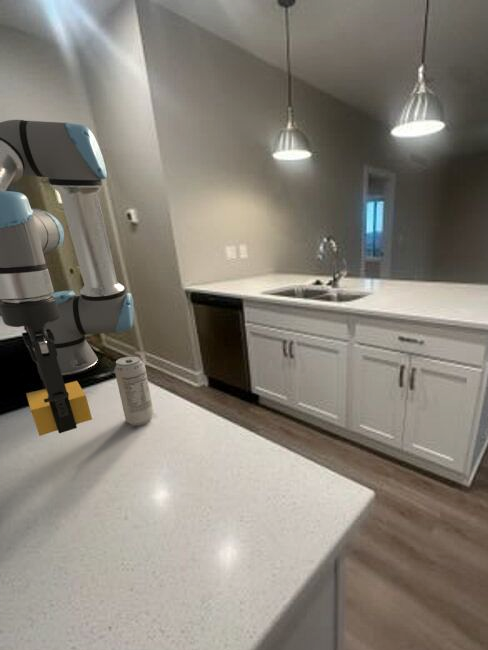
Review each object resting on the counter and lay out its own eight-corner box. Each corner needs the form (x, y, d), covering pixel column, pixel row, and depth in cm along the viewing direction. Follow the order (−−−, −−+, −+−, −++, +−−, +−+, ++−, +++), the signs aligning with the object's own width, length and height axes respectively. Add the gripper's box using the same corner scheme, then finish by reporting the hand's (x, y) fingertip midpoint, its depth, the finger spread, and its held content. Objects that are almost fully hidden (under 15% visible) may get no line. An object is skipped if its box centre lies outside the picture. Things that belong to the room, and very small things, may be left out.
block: (34, 417, 64) (26, 393, 62) (83, 403, 69) (76, 380, 67) (39, 436, 58) (30, 410, 56) (92, 419, 63) (85, 395, 61)
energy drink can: (150, 410, 84) (139, 353, 78) (157, 421, 79) (146, 361, 74) (123, 418, 80) (110, 359, 75) (129, 430, 76) (115, 367, 70)
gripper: (-6, 291, 60) (32, 405, 69) (-1, 314, 45) (47, 455, 54) (45, 286, 65) (75, 393, 73) (65, 305, 50) (99, 436, 59)
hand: (63, 419), depth 64 cm, fingers closed on block, 8 cm apart
